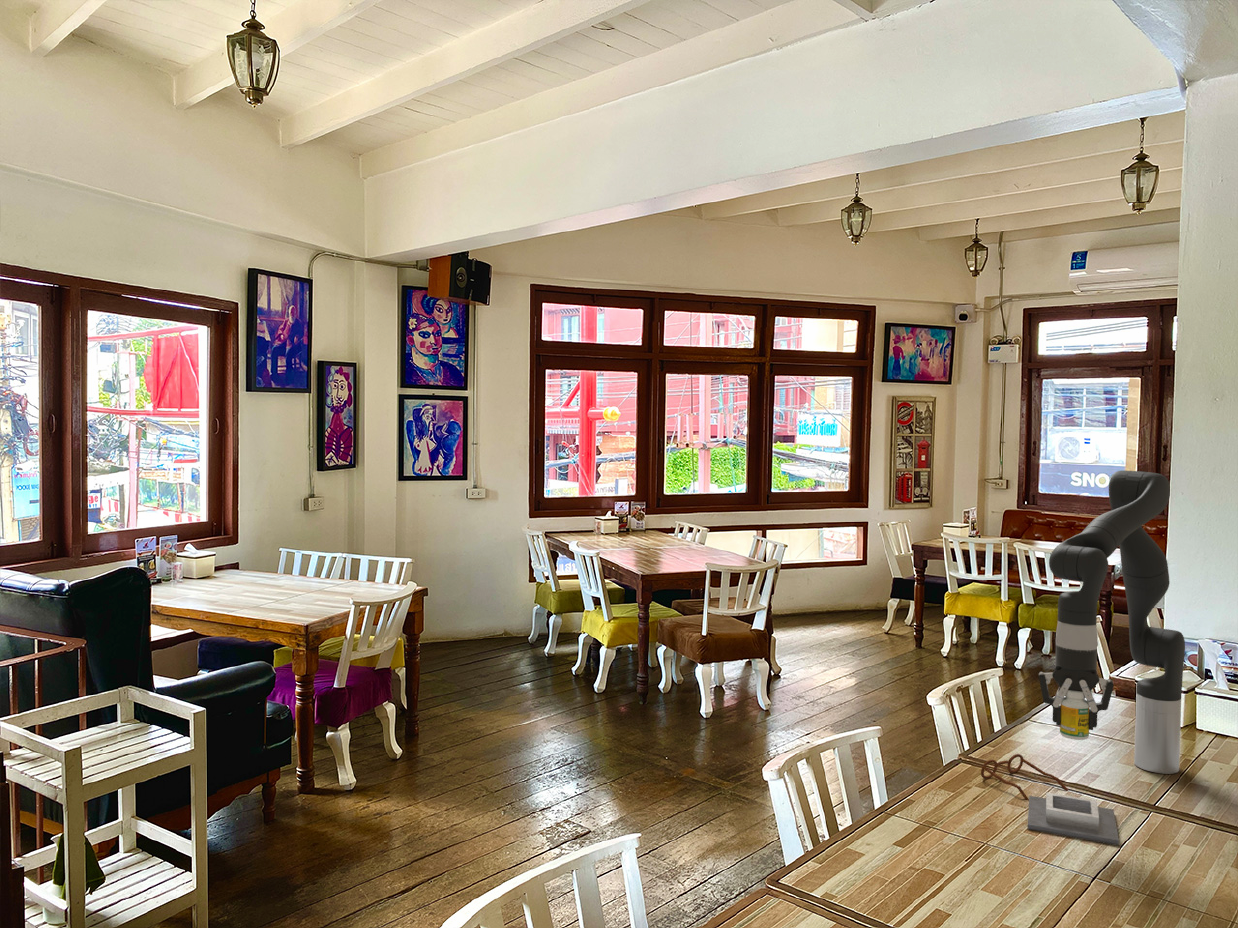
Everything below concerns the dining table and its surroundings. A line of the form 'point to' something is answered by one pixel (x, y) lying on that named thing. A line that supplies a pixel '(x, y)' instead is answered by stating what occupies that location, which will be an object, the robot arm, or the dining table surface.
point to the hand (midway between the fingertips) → (1074, 726)
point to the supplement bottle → (1074, 716)
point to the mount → (1072, 818)
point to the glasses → (1014, 772)
